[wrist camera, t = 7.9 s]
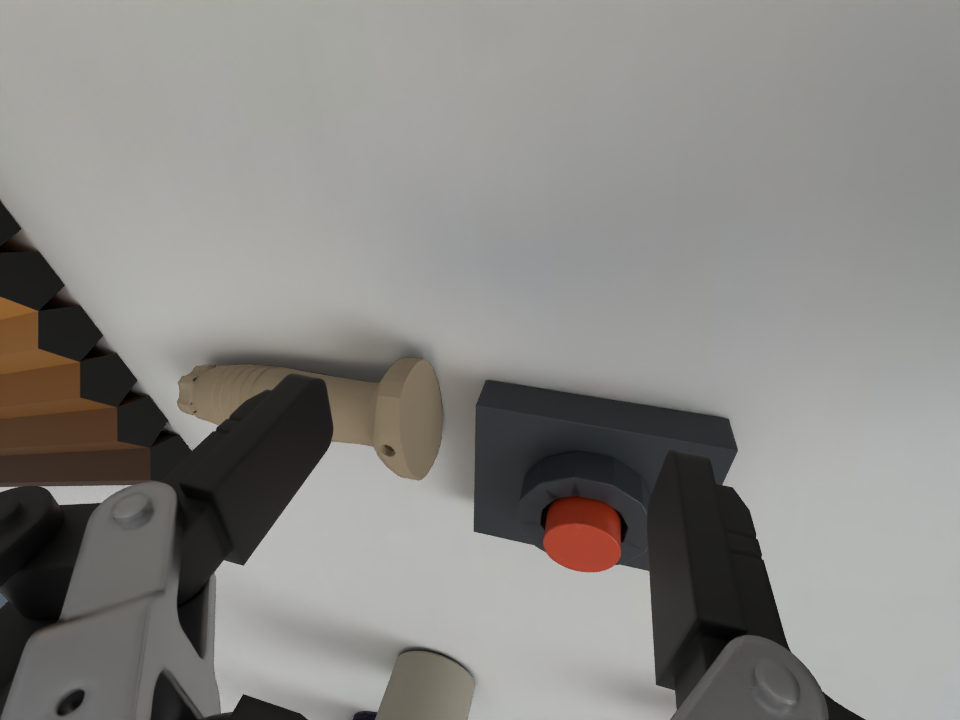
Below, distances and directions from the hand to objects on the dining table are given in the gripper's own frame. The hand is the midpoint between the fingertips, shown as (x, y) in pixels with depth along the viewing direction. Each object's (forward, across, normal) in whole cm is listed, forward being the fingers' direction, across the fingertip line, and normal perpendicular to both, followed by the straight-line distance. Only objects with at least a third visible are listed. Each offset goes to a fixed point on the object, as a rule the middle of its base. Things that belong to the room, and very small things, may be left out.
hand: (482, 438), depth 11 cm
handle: (+10, +20, +11) cm, 25 cm away
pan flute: (+12, +40, +12) cm, 43 cm away
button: (+8, -4, +12) cm, 15 cm away
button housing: (+12, -4, +12) cm, 17 cm away
